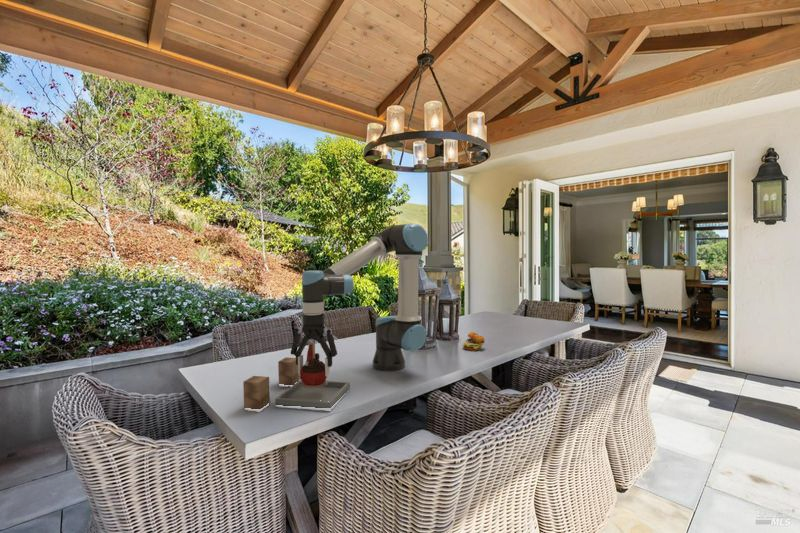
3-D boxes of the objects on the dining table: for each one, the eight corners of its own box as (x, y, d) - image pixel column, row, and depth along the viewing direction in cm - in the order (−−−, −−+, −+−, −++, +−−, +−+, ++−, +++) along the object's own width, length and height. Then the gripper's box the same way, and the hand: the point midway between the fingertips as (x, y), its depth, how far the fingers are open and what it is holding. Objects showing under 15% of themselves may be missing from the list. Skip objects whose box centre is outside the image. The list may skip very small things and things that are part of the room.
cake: (323, 391, 133) (322, 340, 132) (297, 391, 133) (296, 340, 133) (330, 380, 144) (329, 333, 143) (305, 380, 144) (304, 333, 143)
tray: (349, 389, 147) (349, 382, 147) (330, 411, 127) (330, 403, 127) (301, 386, 151) (301, 379, 151) (275, 407, 131) (275, 398, 131)
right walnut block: (299, 382, 156) (299, 358, 155) (292, 387, 150) (292, 362, 149) (286, 381, 157) (285, 357, 156) (278, 386, 151) (278, 361, 151)
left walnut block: (269, 405, 133) (269, 376, 133) (260, 412, 127) (259, 382, 127) (254, 403, 134) (253, 375, 134) (244, 410, 128) (243, 381, 128)
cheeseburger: (461, 346, 211) (466, 328, 210) (480, 351, 210) (485, 333, 209) (462, 350, 201) (466, 332, 200) (482, 356, 200) (486, 337, 199)
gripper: (346, 312, 139) (346, 373, 140) (289, 310, 143) (290, 369, 144) (339, 316, 132) (339, 379, 133) (279, 314, 136) (280, 375, 137)
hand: (314, 374), depth 138 cm, fingers closed on cake, 10 cm apart
